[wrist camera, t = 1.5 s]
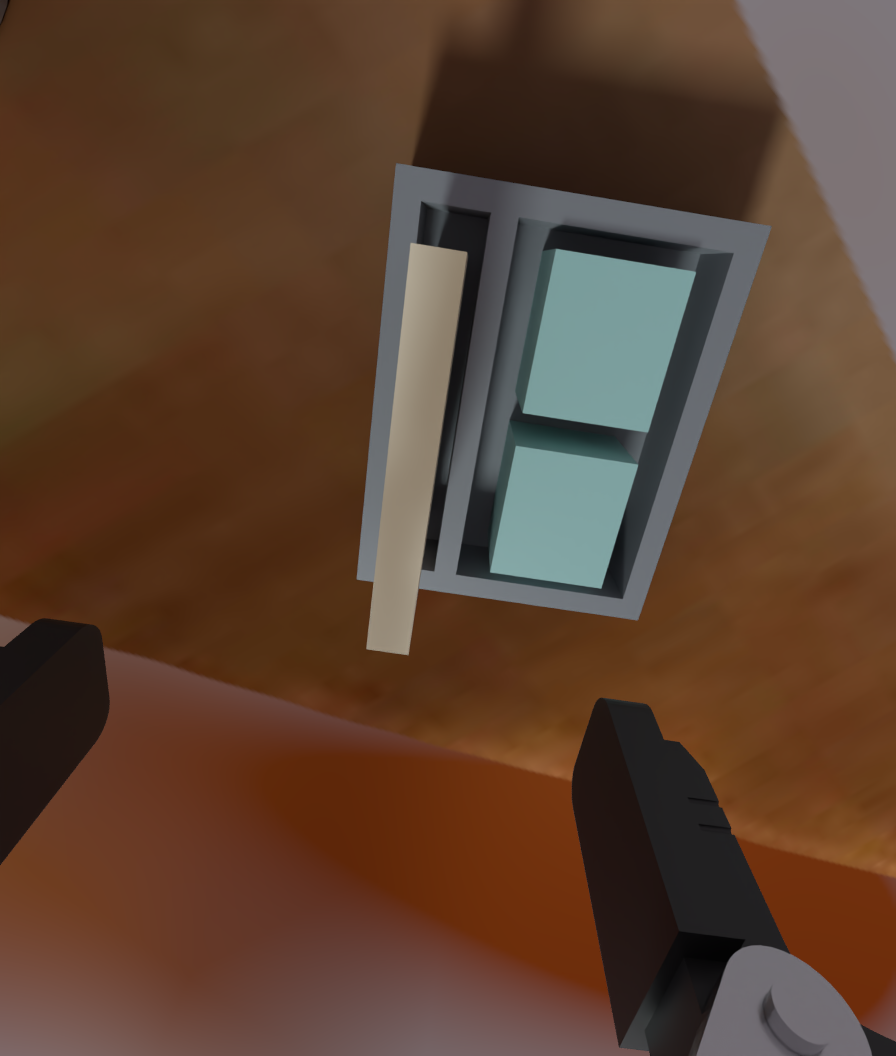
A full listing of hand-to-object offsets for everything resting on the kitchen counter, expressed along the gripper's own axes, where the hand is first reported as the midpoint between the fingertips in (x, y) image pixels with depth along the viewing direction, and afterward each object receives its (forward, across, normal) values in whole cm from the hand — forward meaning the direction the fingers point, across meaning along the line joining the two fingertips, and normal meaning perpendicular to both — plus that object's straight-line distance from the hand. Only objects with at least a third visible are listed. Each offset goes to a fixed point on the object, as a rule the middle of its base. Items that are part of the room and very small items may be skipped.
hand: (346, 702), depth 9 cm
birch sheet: (+25, 0, 0) cm, 25 cm away
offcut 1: (+25, -8, -4) cm, 26 cm away
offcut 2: (+25, -8, +4) cm, 26 cm away
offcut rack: (+26, -5, 0) cm, 26 cm away
